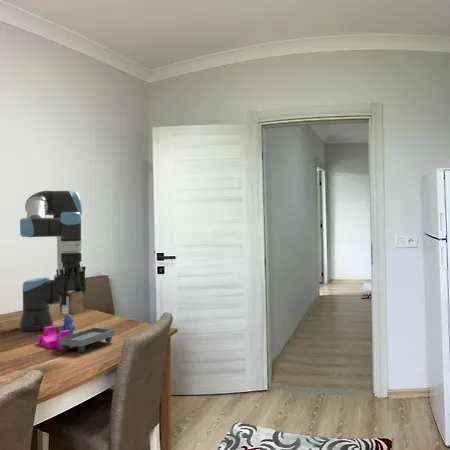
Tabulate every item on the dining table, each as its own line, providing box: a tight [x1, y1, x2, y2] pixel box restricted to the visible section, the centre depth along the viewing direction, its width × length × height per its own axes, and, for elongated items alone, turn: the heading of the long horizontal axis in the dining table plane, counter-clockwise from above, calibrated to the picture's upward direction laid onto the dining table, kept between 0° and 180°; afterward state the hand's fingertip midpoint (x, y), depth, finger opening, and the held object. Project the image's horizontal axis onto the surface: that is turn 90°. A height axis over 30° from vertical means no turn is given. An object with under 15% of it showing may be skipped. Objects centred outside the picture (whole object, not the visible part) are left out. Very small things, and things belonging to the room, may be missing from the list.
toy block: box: [37, 326, 71, 351], centre depth 189 cm, size 15×6×8 cm, turn 47°
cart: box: [59, 327, 115, 353], centre depth 188 cm, size 11×21×5 cm, turn 157°
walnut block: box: [59, 291, 84, 316], centre depth 177 cm, size 6×6×8 cm
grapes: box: [58, 314, 76, 335], centre depth 196 cm, size 12×7×12 cm, turn 30°
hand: (71, 312), depth 177 cm, fingers closed on walnut block, 6 cm apart
